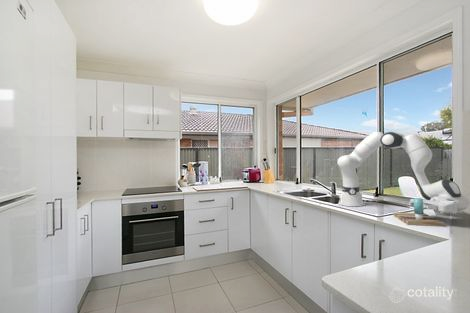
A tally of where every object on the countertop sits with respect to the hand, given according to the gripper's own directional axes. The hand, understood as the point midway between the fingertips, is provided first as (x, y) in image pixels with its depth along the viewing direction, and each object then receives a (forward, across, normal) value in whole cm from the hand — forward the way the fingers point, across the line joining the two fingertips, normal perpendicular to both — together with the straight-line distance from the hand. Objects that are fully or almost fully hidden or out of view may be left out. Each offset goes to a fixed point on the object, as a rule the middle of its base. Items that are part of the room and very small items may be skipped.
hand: (418, 205), depth 123 cm
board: (-2, -3, +9) cm, 10 cm away
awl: (0, 0, +9) cm, 9 cm away
